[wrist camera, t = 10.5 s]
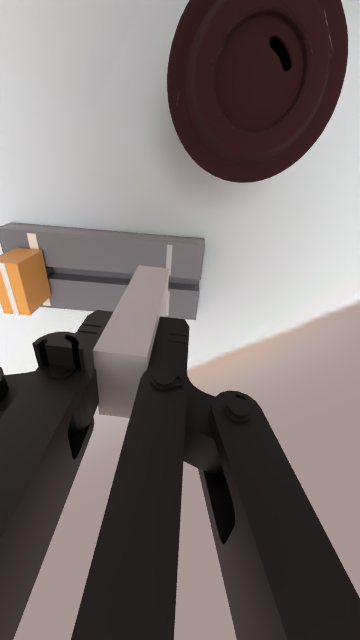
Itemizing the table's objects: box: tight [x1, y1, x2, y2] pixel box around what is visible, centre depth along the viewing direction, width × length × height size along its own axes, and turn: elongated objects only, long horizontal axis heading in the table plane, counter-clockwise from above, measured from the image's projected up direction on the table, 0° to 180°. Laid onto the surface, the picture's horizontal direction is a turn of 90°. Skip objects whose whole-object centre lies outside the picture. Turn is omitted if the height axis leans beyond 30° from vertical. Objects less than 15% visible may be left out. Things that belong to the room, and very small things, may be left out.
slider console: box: [0, 223, 205, 320], centre depth 34 cm, size 10×24×3 cm, turn 86°
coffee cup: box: [167, 0, 348, 183], centre depth 20 cm, size 10×10×15 cm
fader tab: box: [0, 248, 52, 315], centre depth 31 cm, size 6×3×7 cm, turn 176°
